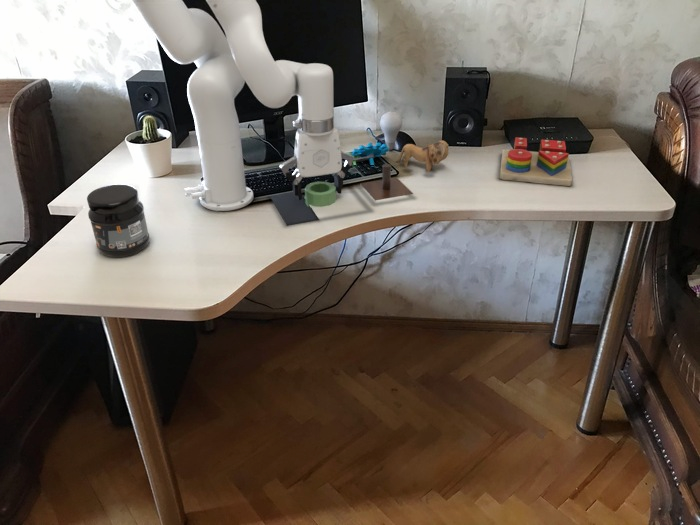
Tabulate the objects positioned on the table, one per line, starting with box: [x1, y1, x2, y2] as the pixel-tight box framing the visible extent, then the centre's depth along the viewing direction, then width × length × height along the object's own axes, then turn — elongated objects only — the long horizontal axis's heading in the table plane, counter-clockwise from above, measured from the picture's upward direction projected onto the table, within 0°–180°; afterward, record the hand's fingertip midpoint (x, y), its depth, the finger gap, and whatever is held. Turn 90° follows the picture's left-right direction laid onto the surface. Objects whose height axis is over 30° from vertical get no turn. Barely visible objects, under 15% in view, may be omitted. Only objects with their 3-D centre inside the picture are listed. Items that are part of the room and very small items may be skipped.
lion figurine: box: [395, 140, 450, 172], centre depth 154 cm, size 15×5×9 cm, turn 67°
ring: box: [304, 181, 337, 208], centre depth 139 cm, size 7×7×4 cm
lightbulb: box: [379, 111, 403, 151], centre depth 165 cm, size 6×6×11 cm
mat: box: [269, 192, 320, 226], centre depth 140 cm, size 20×15×1 cm
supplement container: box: [86, 183, 151, 258], centre depth 121 cm, size 10×10×12 cm
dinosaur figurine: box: [346, 142, 390, 166], centre depth 157 cm, size 11×6×10 cm
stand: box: [359, 163, 414, 201], centre depth 143 cm, size 10×10×7 cm
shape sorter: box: [499, 136, 573, 187], centre depth 155 cm, size 18×17×6 cm
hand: (318, 194), depth 139 cm, fingers open, 9 cm apart
